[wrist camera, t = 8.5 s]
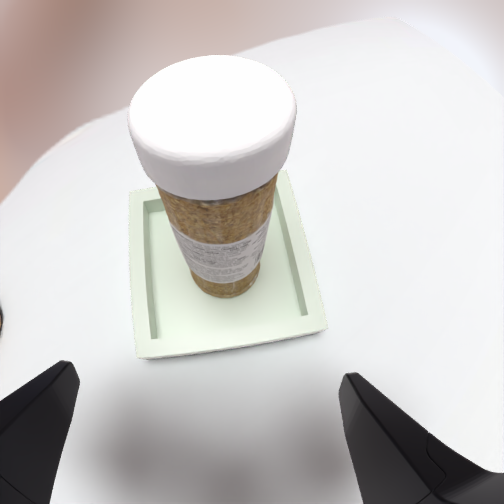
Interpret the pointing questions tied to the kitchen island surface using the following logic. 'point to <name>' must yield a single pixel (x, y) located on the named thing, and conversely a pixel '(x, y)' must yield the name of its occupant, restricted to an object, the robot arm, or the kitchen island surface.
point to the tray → (214, 308)
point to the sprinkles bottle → (215, 160)
